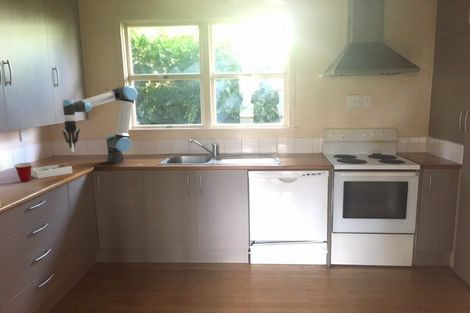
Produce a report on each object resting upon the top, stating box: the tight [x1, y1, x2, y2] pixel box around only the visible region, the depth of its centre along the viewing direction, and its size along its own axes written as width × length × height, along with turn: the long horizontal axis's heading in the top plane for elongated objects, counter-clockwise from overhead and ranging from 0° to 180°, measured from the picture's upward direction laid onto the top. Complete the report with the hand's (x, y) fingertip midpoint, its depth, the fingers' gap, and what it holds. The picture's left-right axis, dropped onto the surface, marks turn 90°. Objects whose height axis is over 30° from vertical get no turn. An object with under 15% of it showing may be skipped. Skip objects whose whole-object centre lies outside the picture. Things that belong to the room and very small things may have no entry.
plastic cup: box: [14, 162, 33, 183], centre depth 244 cm, size 11×11×12 cm
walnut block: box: [57, 162, 69, 168], centre depth 269 cm, size 6×6×4 cm
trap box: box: [31, 164, 73, 179], centre depth 266 cm, size 24×16×5 cm, turn 134°
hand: (72, 151), depth 272 cm, fingers closed
